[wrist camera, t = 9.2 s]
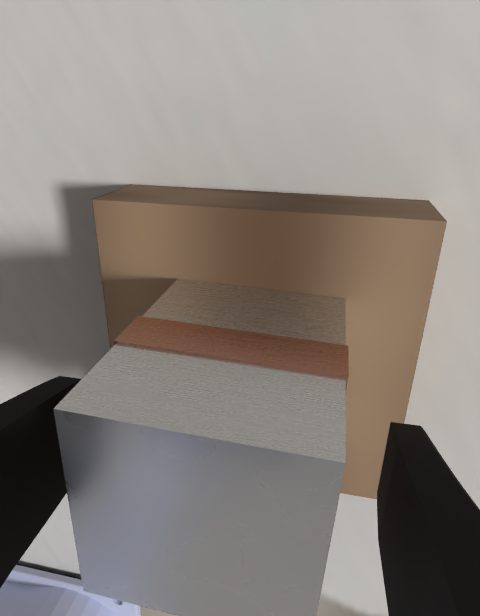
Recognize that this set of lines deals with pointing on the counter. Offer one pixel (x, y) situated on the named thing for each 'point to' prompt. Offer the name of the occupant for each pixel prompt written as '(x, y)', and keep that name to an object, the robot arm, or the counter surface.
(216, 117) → the counter surface
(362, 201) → the walnut block
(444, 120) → the counter surface
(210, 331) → the steel tea tin
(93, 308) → the counter surface
